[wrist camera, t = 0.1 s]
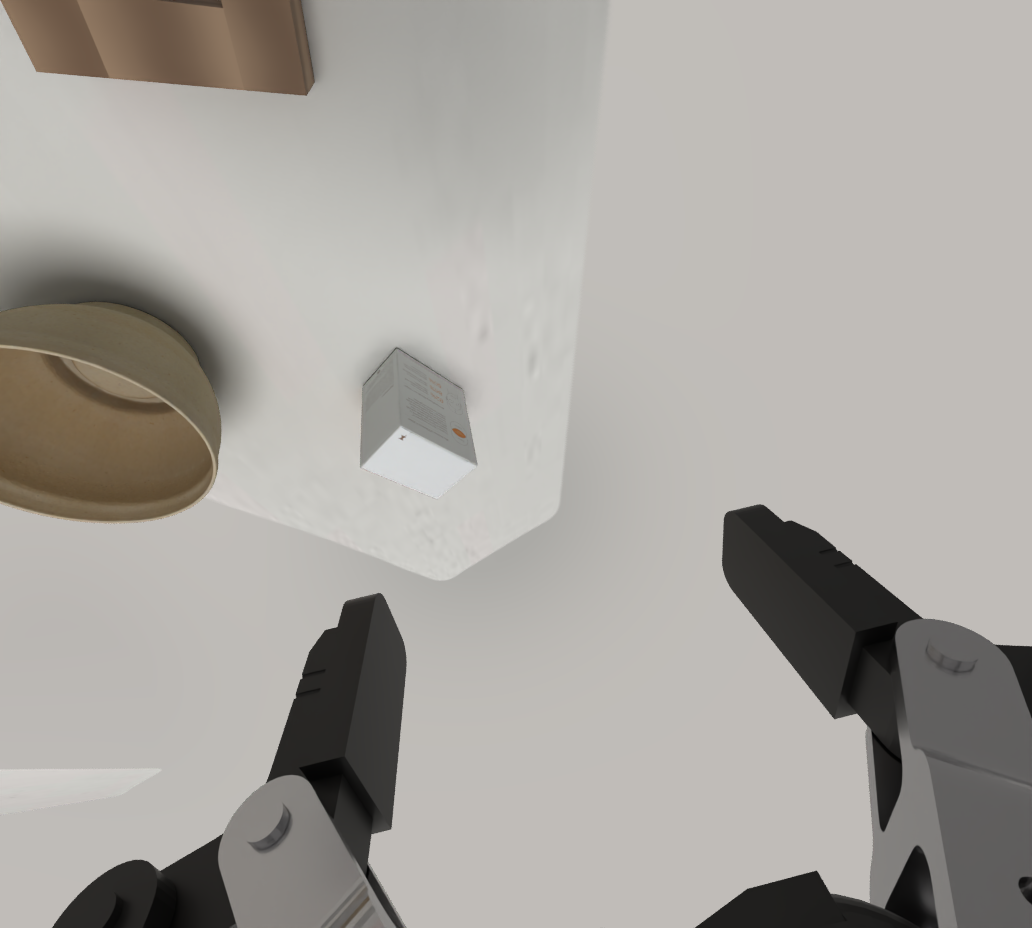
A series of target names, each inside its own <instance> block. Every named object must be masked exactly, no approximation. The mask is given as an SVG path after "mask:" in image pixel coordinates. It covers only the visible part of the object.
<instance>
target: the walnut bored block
mask: <svg viewBox="0 0 1032 928" xmlns="http://www.w3.org/2000/svg"><path fill="white" fill-rule="evenodd" d="M1 2H2V4H3V6H4V8H5V10H6V12H7V14H8V16H9V18H10V20H11V22H12V24H13V26H14V28H15V30H16V32H17V34H18V36H19V38H20V40H21V42H22V44H23V46H24V48H25V50H26V52H27V53H28V55H29V57H30V59H31V61H32V63H33V65H34V67H35V69H36V71H37V72H45V73H57V74H68V75H79V76H90V77H102V78H113V79H124V80H136V81H147V82H158V83H170V84H181V85H192V86H204V87H215V88H226V89H237V90H249V91H260V92H271V93H283V94H294V95H305V96H307V94H308V92H309V91H310V89H311V87H312V86H313V84H314V82H315V81H314V75H313V70H312V64H311V58H310V52H309V46H308V40H307V34H306V28H305V22H304V16H303V11H302V5H301V0H1Z"/></svg>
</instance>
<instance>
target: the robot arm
mask: <svg viewBox="0 0 1032 928" xmlns="http://www.w3.org/2000/svg"><path fill="white" fill-rule="evenodd" d="M723 532H724V533H723V555H722V566H723V571H724V575H725V577H726V580H727V582H728V584H729V586H730V587H731V589H732V590H733V592H734V593H735V594H736V595H737V597H738V598H739V599H740V600H741V602H742V603H743V604H744V606H745V607H746V608H747V609H748V611H749V612H750V613H751V614H752V616H753V617H754V618H755V619H756V621H757V622H758V623H759V625H760V626H761V627H762V628H763V630H764V631H765V632H766V633H767V635H768V636H769V637H770V638H771V640H772V641H773V642H774V643H775V645H776V646H777V647H778V648H779V650H780V651H781V652H782V654H783V655H784V656H785V657H786V659H787V660H788V661H789V662H790V664H791V665H792V666H793V667H794V669H795V670H796V671H797V673H798V674H799V675H800V676H801V678H802V679H803V680H804V681H805V683H806V684H807V685H808V686H809V688H810V689H811V690H812V691H813V693H814V694H815V695H816V696H817V698H818V699H819V700H820V702H821V703H822V704H823V705H824V706H825V708H826V709H827V710H828V711H829V713H830V714H831V715H832V717H833V718H834V719H837V718H841V717H845V716H849V715H853V714H858V715H859V716H860V717H861V718H862V720H863V721H864V722H865V723H866V724H867V730H866V750H867V763H868V776H869V789H870V803H871V817H872V829H873V855H872V863H871V871H870V903H867V902H865V901H862V900H859V899H854V898H850V897H846V896H841V895H837V894H830V892H829V891H828V889H827V887H826V885H825V884H824V882H823V880H822V879H821V877H820V875H819V873H818V872H817V871H814V872H810V873H806V874H803V875H798V876H795V877H791V878H787V879H784V880H780V881H776V882H772V883H768V884H765V885H761V886H757V887H753V888H749V889H747V890H745V891H744V892H743V893H741V894H740V895H738V896H737V897H736V898H734V899H733V900H732V901H730V902H729V903H728V904H727V905H725V906H724V907H722V908H721V909H720V910H718V911H717V912H716V913H714V914H713V915H712V916H710V917H709V918H707V919H706V920H705V921H704V922H702V923H701V924H700V925H698V926H697V927H695V928H1032V646H1031V647H1030V646H1008V645H994V644H993V643H992V642H990V641H989V640H987V639H986V638H984V637H983V636H981V635H979V634H977V633H975V632H974V631H972V630H969V629H967V628H965V627H962V626H959V625H956V624H954V623H950V622H946V621H941V620H935V619H923V618H922V617H920V616H919V615H918V614H916V613H915V612H914V611H913V610H912V609H910V608H909V607H908V606H907V605H905V604H904V603H903V602H902V601H901V600H899V599H898V598H897V597H896V596H894V595H893V594H892V593H891V592H889V591H888V590H887V589H886V588H885V587H883V586H882V585H881V584H880V583H878V582H877V581H876V580H875V579H874V578H872V577H871V576H870V575H869V574H867V573H866V572H865V571H864V570H863V569H861V568H860V567H859V566H858V565H854V564H853V563H852V560H850V559H849V558H848V557H847V556H845V555H844V554H843V553H842V552H841V551H837V550H836V547H834V546H833V545H832V544H831V543H829V542H828V541H827V540H826V539H825V538H823V537H822V536H821V535H820V534H819V533H817V532H816V531H814V530H811V529H809V528H807V527H805V526H802V525H800V524H798V523H796V522H793V521H787V522H783V521H782V520H781V519H780V518H779V517H777V516H776V515H775V514H774V513H773V512H772V511H770V510H769V509H768V508H767V507H765V506H764V505H754V506H750V507H746V508H742V509H738V510H733V511H729V512H727V513H726V515H725V517H724V530H723ZM405 676H406V652H405V646H404V642H403V639H402V637H401V634H400V632H399V630H398V628H397V625H396V623H395V621H394V618H393V616H392V614H391V611H390V609H389V607H388V605H387V602H386V600H385V598H384V596H383V595H382V594H381V593H377V594H373V595H369V596H365V597H360V598H356V599H352V600H348V601H346V602H345V604H344V606H343V609H342V612H341V616H340V620H339V623H338V627H336V628H332V629H328V630H325V631H324V633H323V634H322V635H321V637H320V638H319V639H318V641H317V642H316V644H315V645H314V646H313V648H312V649H311V650H310V652H309V655H308V658H307V661H306V664H305V667H304V670H303V673H302V677H303V678H302V679H301V680H300V682H299V685H298V688H297V692H296V699H294V701H293V704H292V707H291V710H290V713H289V716H288V720H287V722H286V725H285V728H284V732H283V735H282V738H281V741H280V744H279V747H278V750H277V753H276V756H275V759H274V762H273V765H272V768H271V771H270V774H269V777H268V779H267V782H266V784H264V785H263V786H261V787H260V788H259V789H257V790H256V791H255V792H253V793H252V794H251V795H250V796H249V797H248V798H247V799H246V800H245V801H244V802H243V803H242V805H241V806H240V807H239V808H238V809H237V811H236V812H235V814H234V815H233V816H232V818H231V820H230V822H229V823H228V825H227V827H226V829H225V831H224V833H223V834H222V835H220V836H219V837H217V838H216V839H214V840H212V841H211V842H209V843H207V844H206V845H204V846H202V847H201V848H199V849H197V850H195V851H194V852H192V853H191V854H189V855H187V856H185V857H183V858H182V859H180V860H178V861H177V862H175V863H173V864H172V865H170V866H168V867H166V868H165V869H163V870H161V871H159V870H158V869H156V868H155V867H154V866H153V865H151V864H150V863H149V862H147V861H144V860H132V861H128V862H125V863H122V864H120V865H118V866H116V867H114V868H112V869H110V870H108V871H107V872H105V873H104V874H103V875H101V876H100V877H98V878H97V879H96V880H95V881H93V882H92V883H91V884H90V885H88V886H87V887H86V888H85V889H84V890H83V891H82V892H81V893H80V894H79V895H78V896H77V897H76V898H75V899H74V901H72V902H71V904H70V905H69V906H68V907H67V908H66V910H65V911H64V912H63V913H62V915H61V916H60V917H59V919H58V920H57V921H56V923H55V924H54V926H53V927H52V928H406V926H405V924H404V923H403V921H402V919H401V918H400V916H399V914H398V912H397V911H396V909H395V908H394V906H393V904H392V902H391V900H390V899H389V897H388V895H387V894H386V892H385V890H384V888H383V886H382V885H381V883H380V881H379V880H378V878H377V876H376V874H375V873H374V871H373V869H372V867H371V866H370V864H369V863H368V856H369V848H370V839H371V834H374V833H378V832H382V831H386V830H390V829H391V827H392V816H393V805H394V795H395V783H396V773H397V763H398V752H399V741H400V730H401V720H402V708H403V698H404V687H405Z"/></svg>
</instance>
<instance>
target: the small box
mask: <svg viewBox="0 0 1032 928" xmlns="http://www.w3.org/2000/svg"><path fill="white" fill-rule="evenodd" d="M476 466H477V460H476V454H475V449H474V444H473V439H472V434H471V428H470V423H469V418H468V413H467V408H466V403H465V397H464V392H463V390H462V389H461V388H459V387H458V386H456V385H454V384H453V383H451V382H450V381H448V380H446V379H445V378H443V377H442V376H440V375H439V374H437V373H435V372H434V371H432V370H431V369H429V368H428V367H426V366H424V365H423V364H421V363H420V362H418V361H416V360H415V359H413V358H412V357H410V356H408V355H407V354H405V353H404V352H402V351H401V350H399V349H395V351H394V352H393V353H392V354H391V355H390V356H389V358H388V359H387V360H386V361H385V362H384V363H383V364H382V366H381V367H380V368H379V369H378V370H377V371H376V372H375V373H374V375H373V376H372V377H371V378H370V379H369V380H368V381H367V383H366V384H365V385H364V386H363V388H362V418H361V448H360V468H362V469H364V470H367V471H369V472H372V473H374V474H377V475H379V476H381V477H384V478H386V479H389V480H391V481H394V482H396V483H398V484H401V485H403V486H406V487H408V488H410V489H413V490H415V491H418V492H420V493H422V494H425V495H427V496H430V497H432V498H434V499H438V498H439V497H441V496H442V495H443V494H444V493H446V492H447V491H448V490H449V489H450V488H451V487H453V486H454V485H455V484H456V483H457V482H459V481H460V480H461V479H462V478H463V477H465V476H466V475H467V474H468V473H469V472H470V471H472V470H473V469H474V468H475V467H476Z"/></svg>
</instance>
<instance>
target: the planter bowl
mask: <svg viewBox="0 0 1032 928" xmlns="http://www.w3.org/2000/svg"><path fill="white" fill-rule="evenodd" d="M220 443H221V418H220V412H219V407H218V403H217V400H216V397H215V394H214V391H213V389H212V387H211V385H210V382H209V380H208V379H207V377H206V375H205V373H204V372H203V370H202V369H201V367H200V364H199V361H198V358H197V356H196V354H195V352H194V351H193V349H192V348H191V346H190V345H189V344H188V343H187V342H186V340H185V339H184V338H183V337H182V336H181V335H180V334H179V333H177V332H176V331H175V330H174V329H172V328H171V327H170V326H168V325H167V324H165V323H164V322H162V321H161V320H159V319H157V318H155V317H153V316H151V315H149V314H147V313H145V312H142V311H140V310H137V309H134V308H131V307H127V306H124V305H120V304H115V303H108V302H84V303H78V304H46V305H35V306H26V307H21V308H15V309H10V310H6V311H1V312H0V504H3V505H6V506H9V507H12V508H16V509H19V510H23V511H26V512H30V513H34V514H38V515H43V516H48V517H53V518H58V519H65V520H72V521H80V522H91V523H113V524H114V523H138V522H145V521H153V520H158V519H162V518H166V517H169V516H173V515H175V514H178V513H180V512H182V511H185V510H187V509H189V508H191V507H193V506H194V505H195V504H197V503H198V502H199V501H201V500H202V499H203V498H204V497H205V496H206V495H207V494H208V493H209V491H210V490H211V488H212V486H213V484H214V482H215V478H216V475H217V470H218V454H219V449H220Z"/></svg>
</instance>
